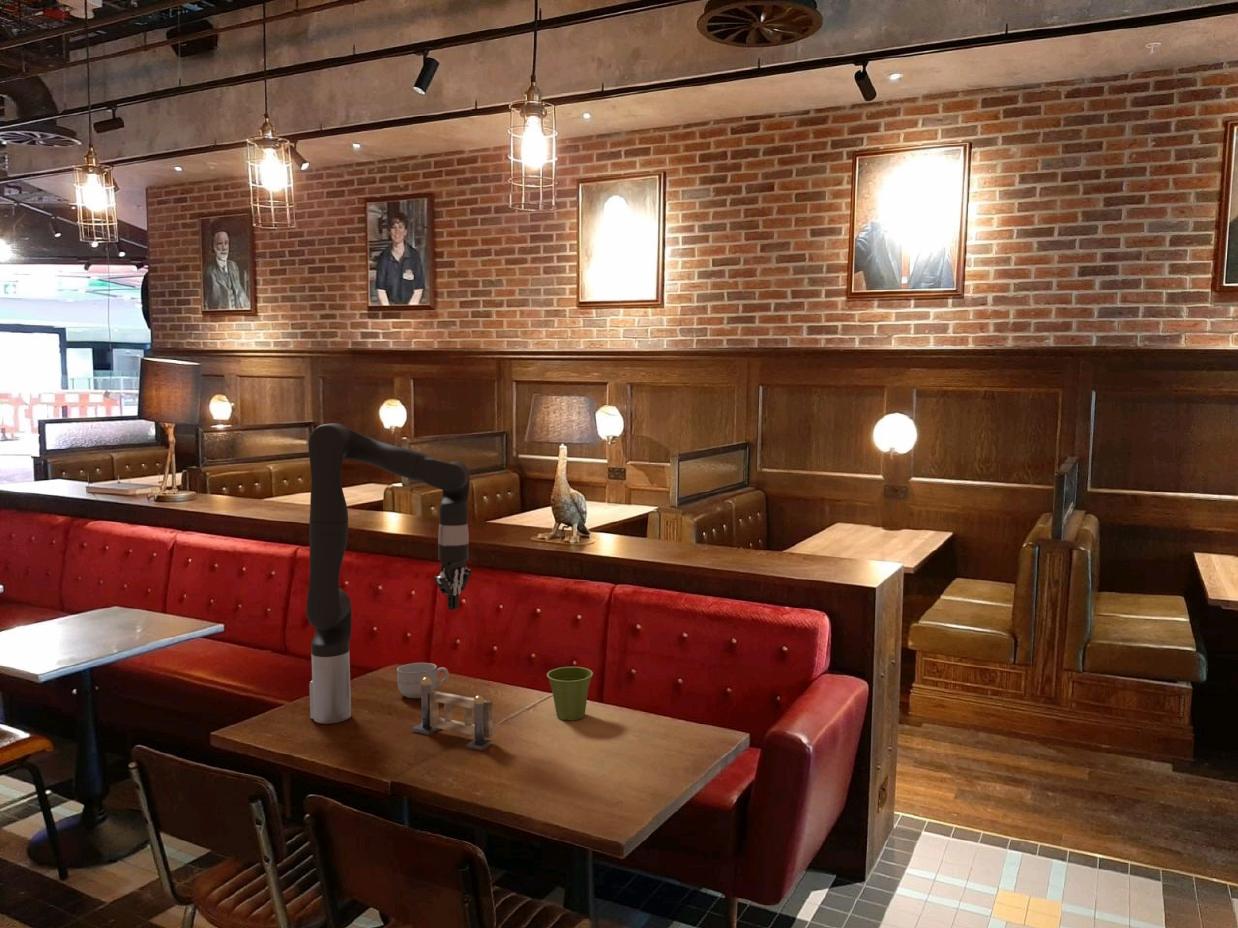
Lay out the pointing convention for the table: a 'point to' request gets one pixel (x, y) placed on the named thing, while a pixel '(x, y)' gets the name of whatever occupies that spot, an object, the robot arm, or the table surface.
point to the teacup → (418, 678)
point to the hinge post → (425, 709)
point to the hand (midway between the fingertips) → (453, 609)
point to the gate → (469, 705)
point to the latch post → (479, 726)
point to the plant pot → (570, 691)
